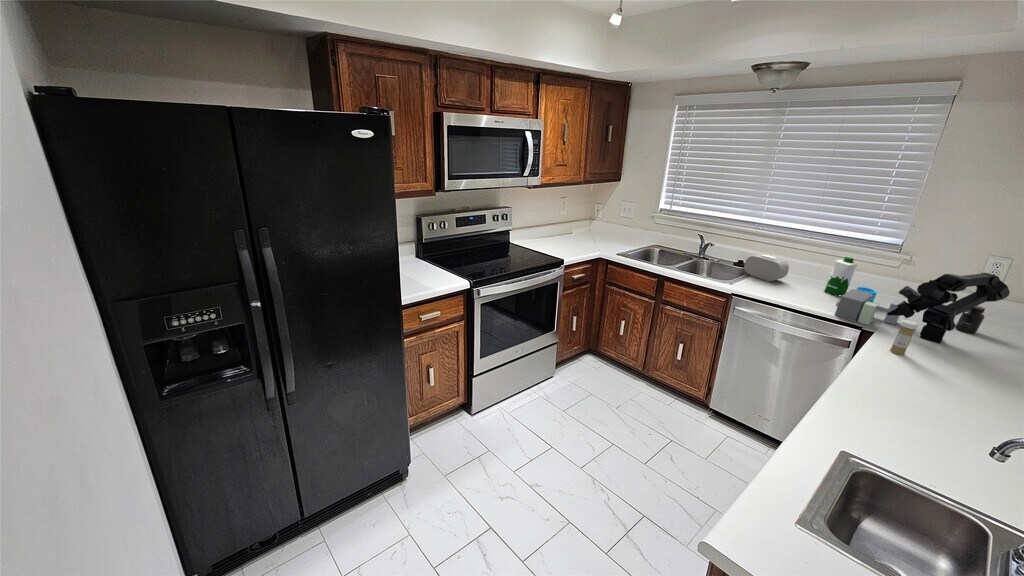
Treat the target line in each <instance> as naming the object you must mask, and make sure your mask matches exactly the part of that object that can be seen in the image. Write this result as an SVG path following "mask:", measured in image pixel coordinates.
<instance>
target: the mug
mask: <svg viewBox="0 0 1024 576" xmlns="http://www.w3.org/2000/svg"><path fill="white" fill-rule="evenodd" d="M856 290H860V291H863V292H867V293H871V294H873V295H872V298H871V300H870V302H871V303H874V301H875V299H876V297H877V294H878V291H877V290H875V289H873V288H869V287H864V286H857V287H856Z"/></svg>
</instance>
